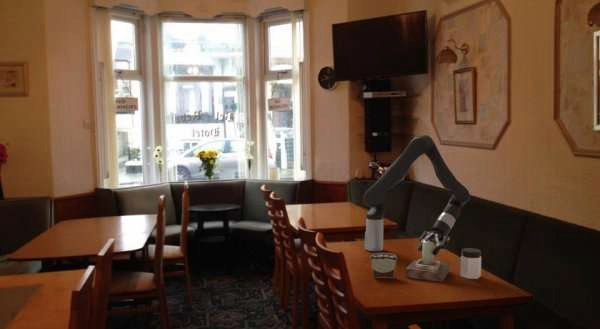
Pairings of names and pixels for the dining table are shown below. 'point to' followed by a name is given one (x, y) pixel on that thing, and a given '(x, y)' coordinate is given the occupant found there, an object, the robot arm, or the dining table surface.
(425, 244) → the sage cylinder
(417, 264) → the display plinth
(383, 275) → the food container
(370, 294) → the dining table surface
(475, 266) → the jar
